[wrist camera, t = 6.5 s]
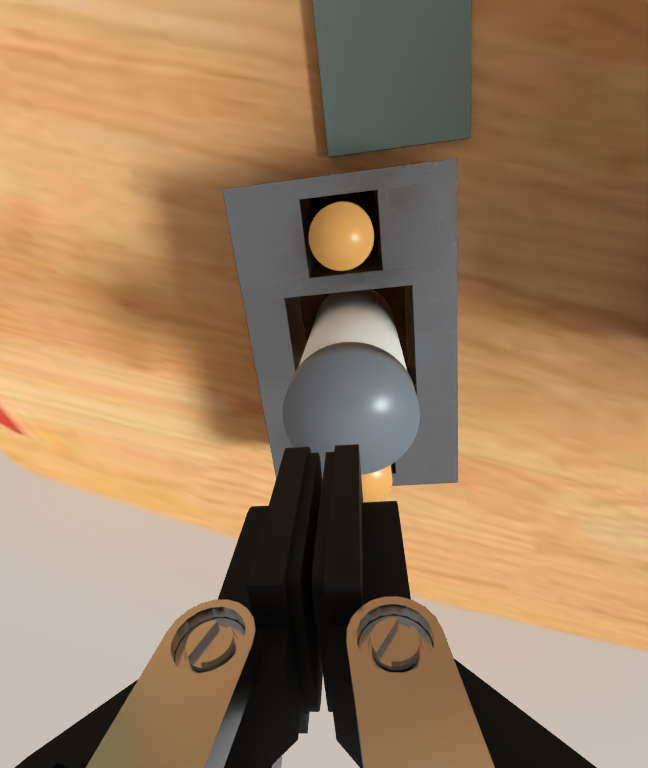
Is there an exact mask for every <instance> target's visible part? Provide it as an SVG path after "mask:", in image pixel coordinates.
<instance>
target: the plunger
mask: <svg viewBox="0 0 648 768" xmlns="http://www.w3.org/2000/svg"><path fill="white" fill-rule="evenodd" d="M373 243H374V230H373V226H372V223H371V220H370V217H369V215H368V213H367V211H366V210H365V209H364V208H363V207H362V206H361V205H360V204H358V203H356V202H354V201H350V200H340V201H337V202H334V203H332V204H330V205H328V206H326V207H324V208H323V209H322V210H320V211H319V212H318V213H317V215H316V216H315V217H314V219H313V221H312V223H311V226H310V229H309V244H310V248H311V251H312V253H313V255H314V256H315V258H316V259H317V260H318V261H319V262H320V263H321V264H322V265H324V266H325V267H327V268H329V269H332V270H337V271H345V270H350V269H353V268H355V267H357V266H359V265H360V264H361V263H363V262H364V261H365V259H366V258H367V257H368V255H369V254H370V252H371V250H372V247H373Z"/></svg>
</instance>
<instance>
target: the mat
mask: <svg viewBox="0 0 648 768" xmlns="http://www.w3.org/2000/svg"><path fill="white" fill-rule="evenodd" d="M313 10H314V20H315V30H316V40H317V50H318V60H319V69H320V79H321V89H322V99H323V109H324V119H325V129H326V138H327V148H328V157H329V158H330V157H337V156H344V155H352V154H359V153H366V152H374V151H381V150H388V149H396V148H403V147H410V146H418V145H425V144H433V143H440V142H447V141H455V140H462V139H468V138H470V137H471V0H313Z"/></svg>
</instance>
